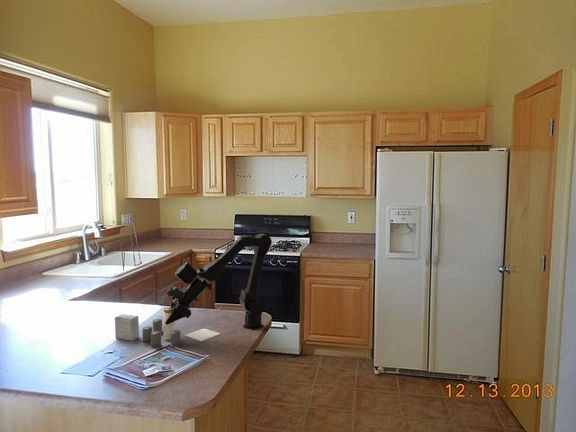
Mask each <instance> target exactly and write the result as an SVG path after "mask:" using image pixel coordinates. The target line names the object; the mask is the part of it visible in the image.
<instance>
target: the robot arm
mask: <svg viewBox="0 0 576 432" xmlns="http://www.w3.org/2000/svg"><path fill="white" fill-rule="evenodd" d="M272 244H273V241H272V237H270V236H269V235H267V234H264V233H258V234H256V235H240V236H238V238H237V239H236V240H235V241H234V242H233V243H232V244H230V246H229V247H228V248H227V249H226V250H224V252H222V254H221V255H219V256H218V257H217V258H215V259H214V260H212V261H210V262H209V263H207V264H206V265H204V266H203V267H200V268H197V269H196V268H194V267H193V266H192V265H191V264H190V263H189V262H188V261H186V262H185V263H184V264H182V265H181V266H179V267H178V268H177V269H176V271H175V272H174V276H175V277H177V278H178V279H179V280H180V281H181V282H182V283H184V284H185V285H186V284H189V285H188V286H187V287H183V288H182V289H181V288H180V287H177V286H174V285H171V284H170V285H168V287H167V289H166V292H165V293H166V296H169V297H170V307H169V308H173V312H172V313H171V315H170V316H169V318H168V319H167V321H166V322H165V324H167V325H168V324H170V323H172V322H174V321H175V322H176V321H178V320H181V319H184V318H186V319H189V318H190V317H191V315H192V310H191V305H192V304H193V303H194V302H197V301H198V300H199V296H200V295H201V294H202V293H203V292H204V291H206V289H208V290H210V291H213V290H212V285H213V284H212V282H215V281H216V280H218V278H219V277H220V276H221V274H222V272H223V271H224V269H225V267H226V266H227V265H228V264H229V263H230V262H231V261H232V260H234V258H235V257H236V256H237V255H238V254H239V253H240V252H241V251H242V250H243V249H244V248H246V246H247V247H253V259H252V262H251V263H252V264H251V268H250V272H249V277H248V280H247V286H246V288H245V289H244V290H243V289H241V290H240V296H239V297H238V300H239V303H240V305H241V306H242V307H243V308H244V310H245V315H244V324H243V325H242V327H243V328H246V329H250V330H257V329H259V328H262V327H264V326H265V324H262V314H263V311H264V309H263V307H261V306H260V305H259V294H258V287H259V283H260V281H261V280H260V279H261V275H262V270H263V265H264V261H265V257H266V256H267V254H268V252H269V251H270V249H271V247H272ZM199 277H200V278H199ZM208 281H209V282H208Z"/></svg>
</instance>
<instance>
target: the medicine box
mask: <svg viewBox="0 0 576 432" xmlns="http://www.w3.org/2000/svg"><path fill="white" fill-rule="evenodd" d="M139 324H140V323H139V315H132V314H126V313H123V314H122V313H121V314H119V315H117V316H115V317H114V326H115V327H114V331H115V339H118V340H126V341H134V340H136V339H138V338H139V337H140V325H139Z"/></svg>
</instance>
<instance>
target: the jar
mask: <svg viewBox="0 0 576 432" xmlns="http://www.w3.org/2000/svg"><path fill="white" fill-rule="evenodd" d="M172 312H173V308H170V307H166V308H164V309H163V311H162V334H163V335H162V336H163V340H165V341H171V331H174V330H176V321H174V322H172V323H170V324H168V325H167V324H165V322H166V321H167V319H168V318H169V316H170V315H171V313H172Z"/></svg>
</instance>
